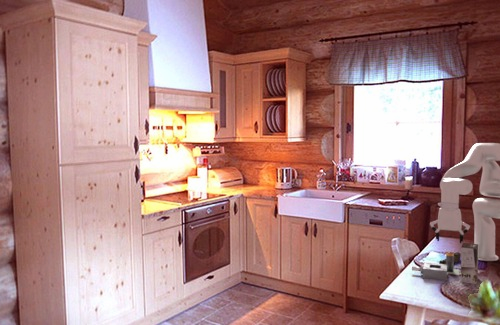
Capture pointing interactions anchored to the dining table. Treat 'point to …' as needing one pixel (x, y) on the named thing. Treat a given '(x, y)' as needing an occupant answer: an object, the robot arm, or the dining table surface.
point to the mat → (456, 271)
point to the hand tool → (456, 258)
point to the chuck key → (450, 261)
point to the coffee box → (469, 263)
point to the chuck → (433, 271)
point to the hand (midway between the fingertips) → (449, 241)
